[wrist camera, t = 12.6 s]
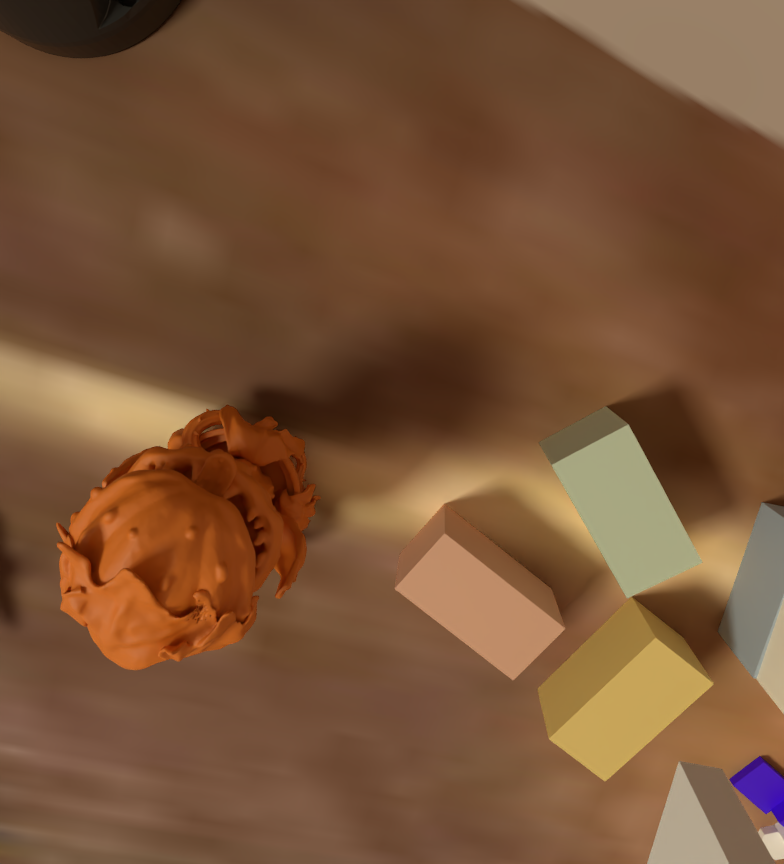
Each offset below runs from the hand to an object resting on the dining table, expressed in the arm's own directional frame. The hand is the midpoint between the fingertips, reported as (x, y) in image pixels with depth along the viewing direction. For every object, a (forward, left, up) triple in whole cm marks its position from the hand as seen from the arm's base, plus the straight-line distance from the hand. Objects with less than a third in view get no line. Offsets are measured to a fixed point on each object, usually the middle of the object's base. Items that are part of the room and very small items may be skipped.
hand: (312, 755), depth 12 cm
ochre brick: (+14, +16, -29) cm, 36 cm away
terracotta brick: (+9, +6, -29) cm, 31 cm away
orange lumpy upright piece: (+5, -9, -29) cm, 31 cm away
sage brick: (+2, +13, -29) cm, 32 cm away
